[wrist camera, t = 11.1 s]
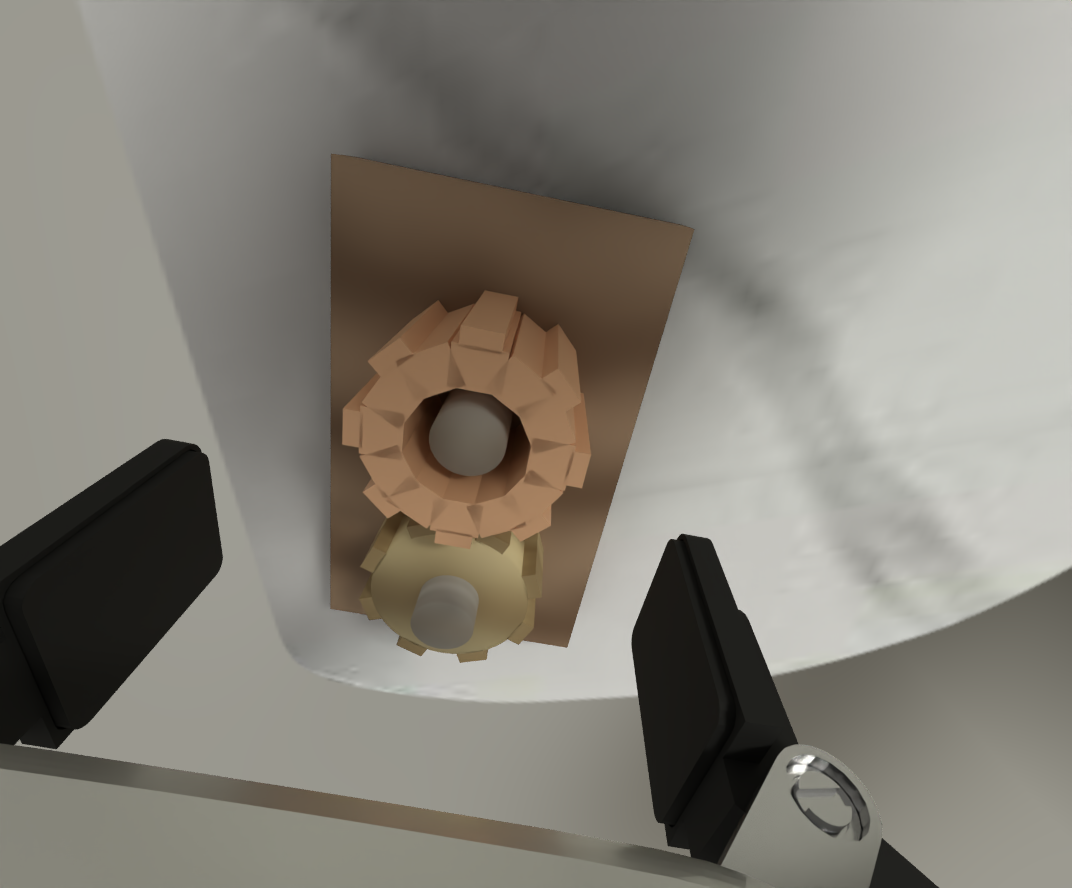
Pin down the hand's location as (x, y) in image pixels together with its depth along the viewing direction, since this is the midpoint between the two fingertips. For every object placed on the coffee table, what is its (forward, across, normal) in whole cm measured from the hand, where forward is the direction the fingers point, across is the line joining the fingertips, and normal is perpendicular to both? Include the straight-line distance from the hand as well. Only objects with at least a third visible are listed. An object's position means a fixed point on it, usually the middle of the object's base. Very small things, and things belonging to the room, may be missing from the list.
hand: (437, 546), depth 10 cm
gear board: (+12, 0, +4) cm, 13 cm away
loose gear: (+10, 0, +1) cm, 10 cm away
